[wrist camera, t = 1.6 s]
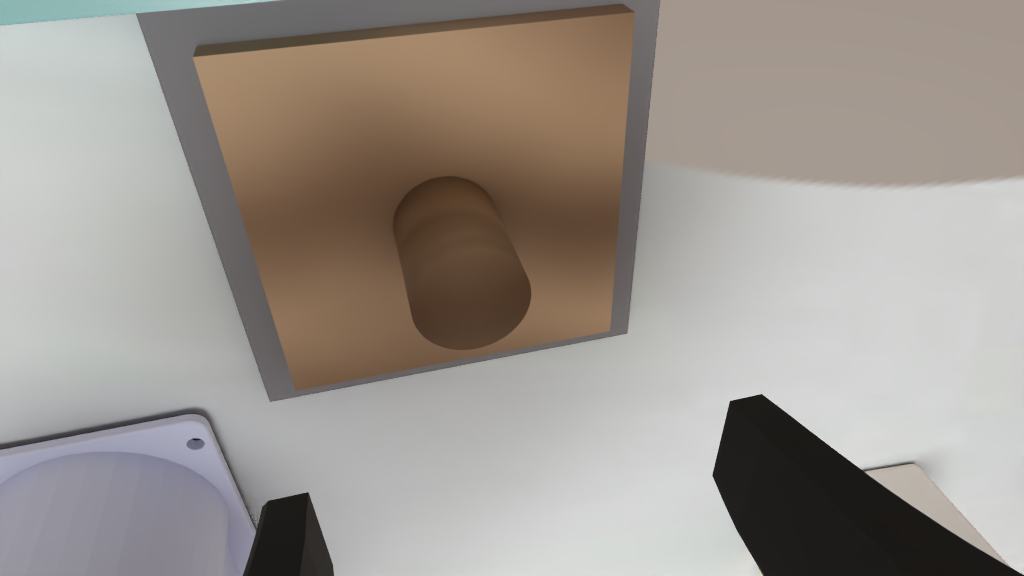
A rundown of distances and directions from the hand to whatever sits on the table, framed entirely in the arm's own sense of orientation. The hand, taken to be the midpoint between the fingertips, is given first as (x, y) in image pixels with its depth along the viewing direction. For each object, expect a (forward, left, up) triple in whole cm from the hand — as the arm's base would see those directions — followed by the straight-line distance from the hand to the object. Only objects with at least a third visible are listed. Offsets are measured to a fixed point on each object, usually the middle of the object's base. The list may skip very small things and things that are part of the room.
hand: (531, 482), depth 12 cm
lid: (0, 0, -10) cm, 10 cm away
